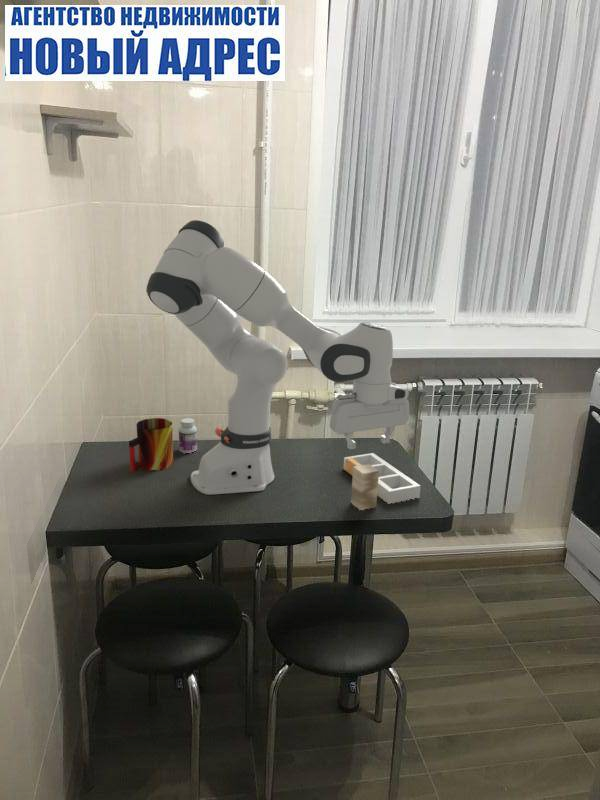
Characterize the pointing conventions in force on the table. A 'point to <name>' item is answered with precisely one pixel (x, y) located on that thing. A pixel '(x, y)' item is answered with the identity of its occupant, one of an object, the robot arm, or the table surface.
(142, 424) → the mug
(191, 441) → the pill bottle
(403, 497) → the rack
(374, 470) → the wooden block
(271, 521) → the table surface
